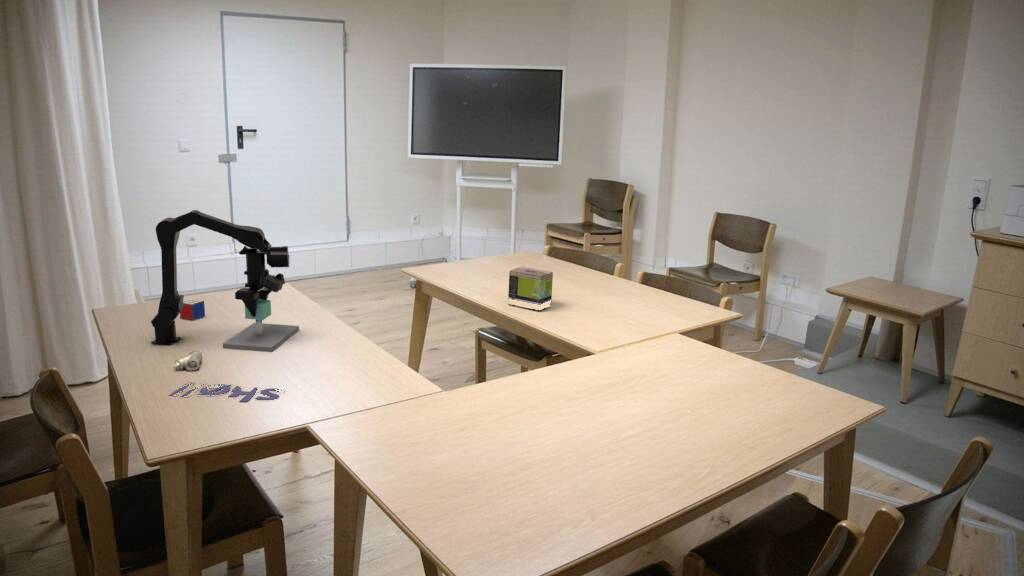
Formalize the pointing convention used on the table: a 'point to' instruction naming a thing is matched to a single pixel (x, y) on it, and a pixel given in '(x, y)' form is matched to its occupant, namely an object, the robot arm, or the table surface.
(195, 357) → the pipe fitting
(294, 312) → the table surface
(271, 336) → the peg board
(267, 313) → the bead
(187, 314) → the puzzle
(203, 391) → the signage
